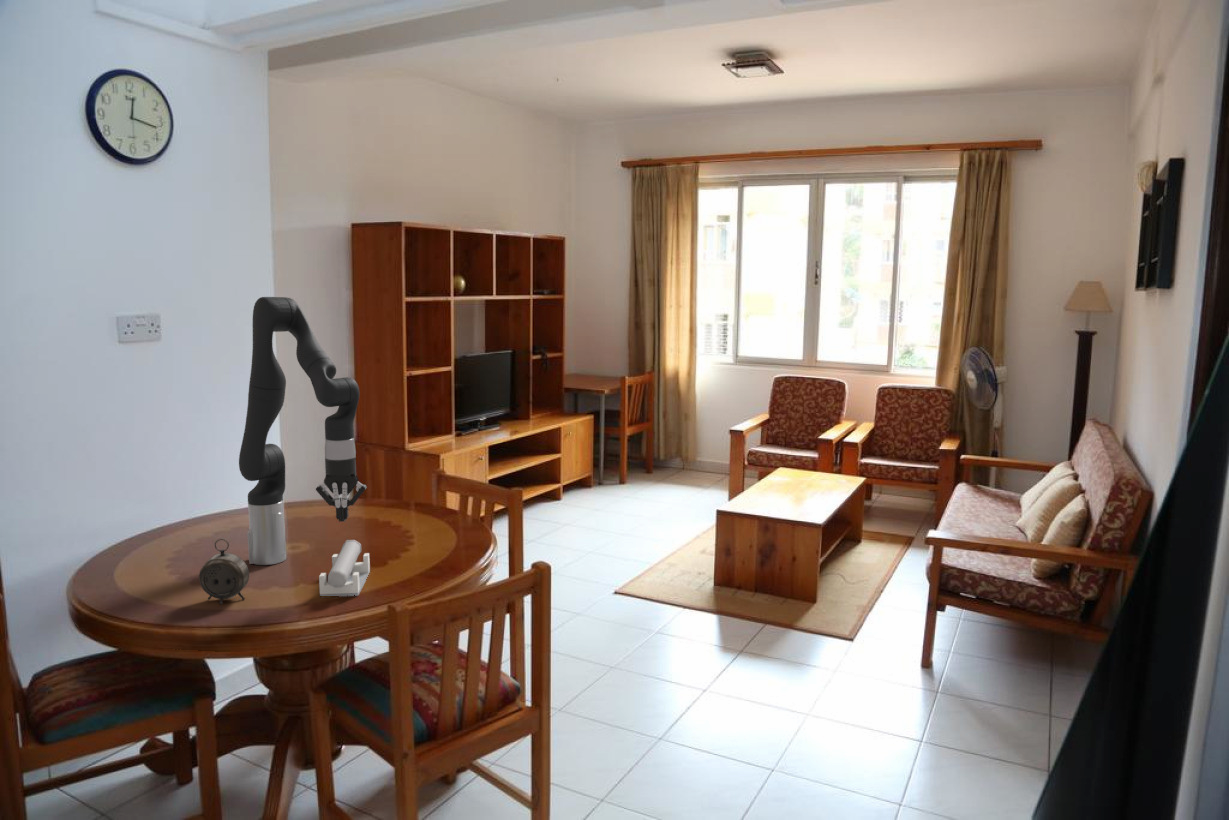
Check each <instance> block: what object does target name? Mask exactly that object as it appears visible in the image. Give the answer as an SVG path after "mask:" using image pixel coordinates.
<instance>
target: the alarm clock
mask: <svg viewBox="0 0 1229 820" xmlns="http://www.w3.org/2000/svg"><path fill="white" fill-rule="evenodd" d="M219 541H224V542H225V543H226V544H227V547H226V549H223V548H222V549H218V547H217V543H218V542H219ZM229 543H230V542H229V541H228V540H227V539H226V538H218V539H217V540H216V541H215V543H214V548H215V550H216V551H218V552H219V553H216V554H215V555H213V556H211V557H210V558H209V559H208V560H206V562H205V563H204V564H203V565H202V566H201V568H200V570H199V574H198V580H199V584H200V586H201V588H202V590H203V591H204V592H205V593H206V594H207V595H208V597H207V600H208V601H209V600H211V598H215V599H218V600H219V604H220V605H223V601H224V600H228V599H231V598H234V597H235V596H237V595H238V596H239V597H240V598H241V600H243V601H245V599H246V597H244V595H243V594H242V593H241V592H242V591H243V589H245V587H246V586H247V584H248V582H249V579H250V570H249V567H248V565H247V563H246V562H245V561H244V560H243V559H242V558H241V557H240V556H238V555H237V554H235V553H231V552H226V551H228V549H229V546H230V544H229Z"/></svg>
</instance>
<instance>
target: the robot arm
mask: <svg viewBox="0 0 1229 820" xmlns="http://www.w3.org/2000/svg"><path fill="white" fill-rule="evenodd" d="M277 332H278V333H279V332H280V333H281V332H289V333H290V334H291V335H292V336H293V337H294V338H295V340H296V353H295V354H296V360H297V362H298V363H299V366H300V367H301V368H302V370H303V371H304V373H306V375H307V377H308V378H309V379H310V383H311V385H312V388H313V391H314V395H315V398H316V400H317V402H319V404H321V405H322V406H324V407H325V408H333V407H335V408H336V407H338V409H337V411H336V412H335V413H333V414H331V415H329V416H326V418H325V420H324V436H325V437H324V438H325V439H324V465H325V467H324V470H325V476H324V479H323V482H322V483H321V484H319V485H317V487H316V488H315V491H316V492H317V493H318V494H319V495H320V497H322V499H323V500H324V501H325V502H326V504H327V505H329V506H333V507H334V508H335V518H336V519H337V520H338V522H346V520H348V518H349V507H351V506H354V504H355V503H356V502H357V501H358V499H359V498H360V497H361V495H362V494H363V493H364V492H365V490H366V489H367V487H368V486H367V484H363V483H361V482H360V480H359V477H358V475H357V464H356V463H357V461H356V460H357V459H356V458H357V456H356V454H357V450H356V442H355V429H354V422H355V417H356V412H357V408H358V405H359V400H360V395H361V394H360V393H361V392H360V387H359V384H358V383H357V381H356V380H355V379H354V378H352V377H338V378H337V377H336V378H335V376H336V374H337V367H336V365H335V364H334V362H333V361H332V360H331V358H330V356H329V355H327V353H326V352H325V350H324V349H323V348H322V346H321V345H320V343H319V342H318V340H317V338H316V337H315V335H314V332H313V329H312V328H311V326H310V324H309V322H308V319H307V318H306V316H305V314H304V312H303V310H302V308H301V307H300V305H299V304H298V302H297V301H296V300H294V299H293V298H291V297H287V296H284V297H283V296H262V297H259V298H258V299H257V300H256V301H255V303H254V305H253V310H252V353H251V354H252V357H251V366H250V367H251V368H250V375H249V384H248V393H247V407H246V409H247V410H246V418H245V424H244V425H245V426H244V430H243V431H244V432H243V436H242V441H241V447H240V449H239V450H240V451H239V456H238V457H239V458H238V466H239V471H240V474H241V476H242V477H243V478H244V480H246V481H249V482H256V481H258V482H256V485H254V487H253V488H252V489H251V490H249V492H248V493H247V509H248V510H247V511H248V524H249V525H248V526H249V529H248V530H247V534H246V536H247V546H248V547H247V548H248V561H249V562H248V563H249V565H251V564H252V565H253V564H254V565H256V566H257V565H258V566H268V565H269V566H270V565H275V564H280V563H281V562H284V561H286V560H287V545H286V526H285V511H284V507H285V506H284V493H285V490H286V459H285V455H284V452H283V451H282V449H281V448H280V446H278V445H277V444H275V443H267V438H268V435H269V431H270V429H271V427H272V426H273V424H274V422H275V421H276V419H277V418H278V416H279V414H280V412H281V410H282V408H283V406H284V403H285V398H286V397H285V396H286V386H287V381H286V375H285V372H284V370H283V368H282V367H281V365H280V363H279V361H278V359H277V357H276V356H275V355H276V354H275V352H274V347H273V345H274V344H273V335H274V333H277ZM266 443H267V444H266ZM354 489H355V491H356V493H355V494H354V495H353V497H352V498H351V499H350V494H351V493H352V492H353V490H354ZM328 490H329V491H330V492H331V493H332V494H333V495H331V494H330V492H329V491H328Z"/></svg>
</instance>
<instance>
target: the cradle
mask: <svg viewBox="0 0 1229 820" xmlns="http://www.w3.org/2000/svg"><path fill="white" fill-rule="evenodd" d="M338 555H339V553H333V555H332V556H331V563H332V564H331V565H332V567H333V565H334V563H335V561H336V559H337V557H338ZM362 557H363V558H362V559H363V561H356V562H355V564H354V567H353V569H352V571H351V573H350V576H349V578H348V580H347V582H346V583H345V585H344V586H343V587H336V588H335V587H333V586H331V585H330V584H328V581H327V572H320V575H318V582H319V597H320V596H339V597H358V596H359V595H360V593H361V591H362V590H363V587H364V585H365V584H366V582H367V580H368V578H367V577H369V576H370V574H369V573H371V563H370V561H371V560H370V552H364V553H363V556H362ZM332 567H331V568H332ZM368 575H369V576H368ZM366 579H367V580H366ZM340 595H341V596H340ZM347 595H348V596H347ZM354 595H355V596H354Z"/></svg>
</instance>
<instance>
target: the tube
mask: <svg viewBox="0 0 1229 820" xmlns="http://www.w3.org/2000/svg"><path fill="white" fill-rule="evenodd" d="M361 553H362V544H361V543H360V542H359V541H357V540H355V539H346V540H345V542H343V544H342V546H341V550H340V552H339V553H338V557H337V559H336V561H335V563H334V565H333V567H331V569H330V571H329V573H328V575H327V582H328V584H330V585H331V586H333V587H335V588H336V587H343V586H344V585H345V583H346V582H347V580H348V578H349V576H350V573H351V571H352V569H353V567H354V564H355V562H357V560H358V558H359V555H360V554H361Z"/></svg>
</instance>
